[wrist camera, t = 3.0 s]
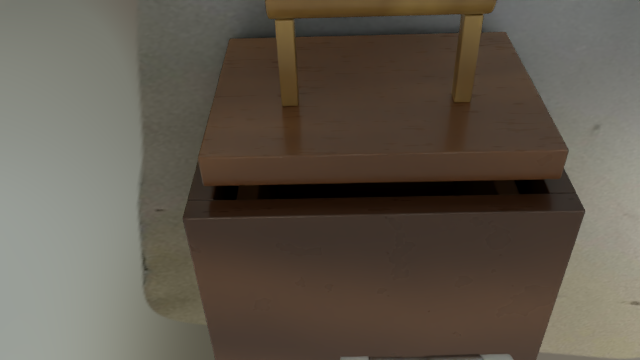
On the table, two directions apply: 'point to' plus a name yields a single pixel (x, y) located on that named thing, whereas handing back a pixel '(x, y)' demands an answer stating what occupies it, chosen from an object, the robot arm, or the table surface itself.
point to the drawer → (377, 110)
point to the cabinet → (380, 271)
